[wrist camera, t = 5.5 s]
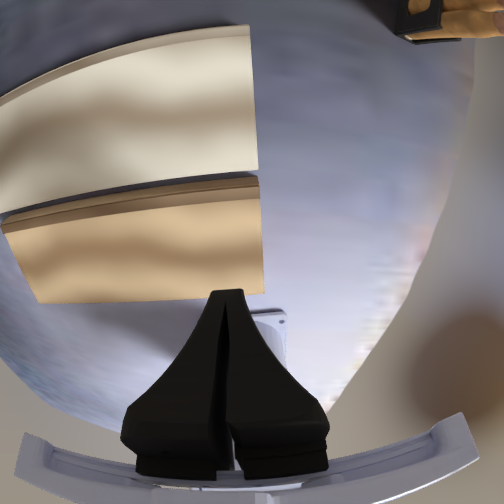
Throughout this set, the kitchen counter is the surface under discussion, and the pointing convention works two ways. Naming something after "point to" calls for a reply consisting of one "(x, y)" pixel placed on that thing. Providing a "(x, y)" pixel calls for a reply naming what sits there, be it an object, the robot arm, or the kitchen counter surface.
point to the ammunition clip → (448, 20)
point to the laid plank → (143, 244)
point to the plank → (131, 117)
